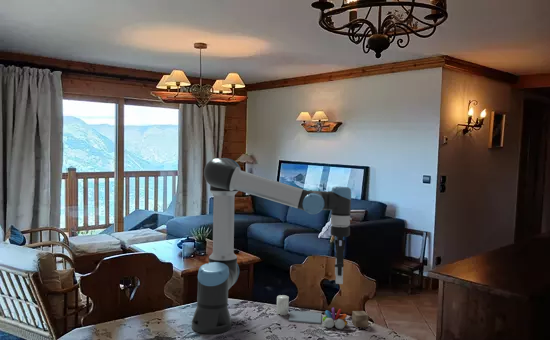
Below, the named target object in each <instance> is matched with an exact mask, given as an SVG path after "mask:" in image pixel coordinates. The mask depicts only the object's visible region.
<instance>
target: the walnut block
mask: <svg viewBox="0 0 550 340" xmlns="http://www.w3.org/2000/svg"><path fill="white" fill-rule="evenodd" d="M352 323H353V324H352ZM351 324H352V325H353V326H354V328H355V327H368V328H369V314H367V312H366V311H364V310H352V314H351Z"/></svg>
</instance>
